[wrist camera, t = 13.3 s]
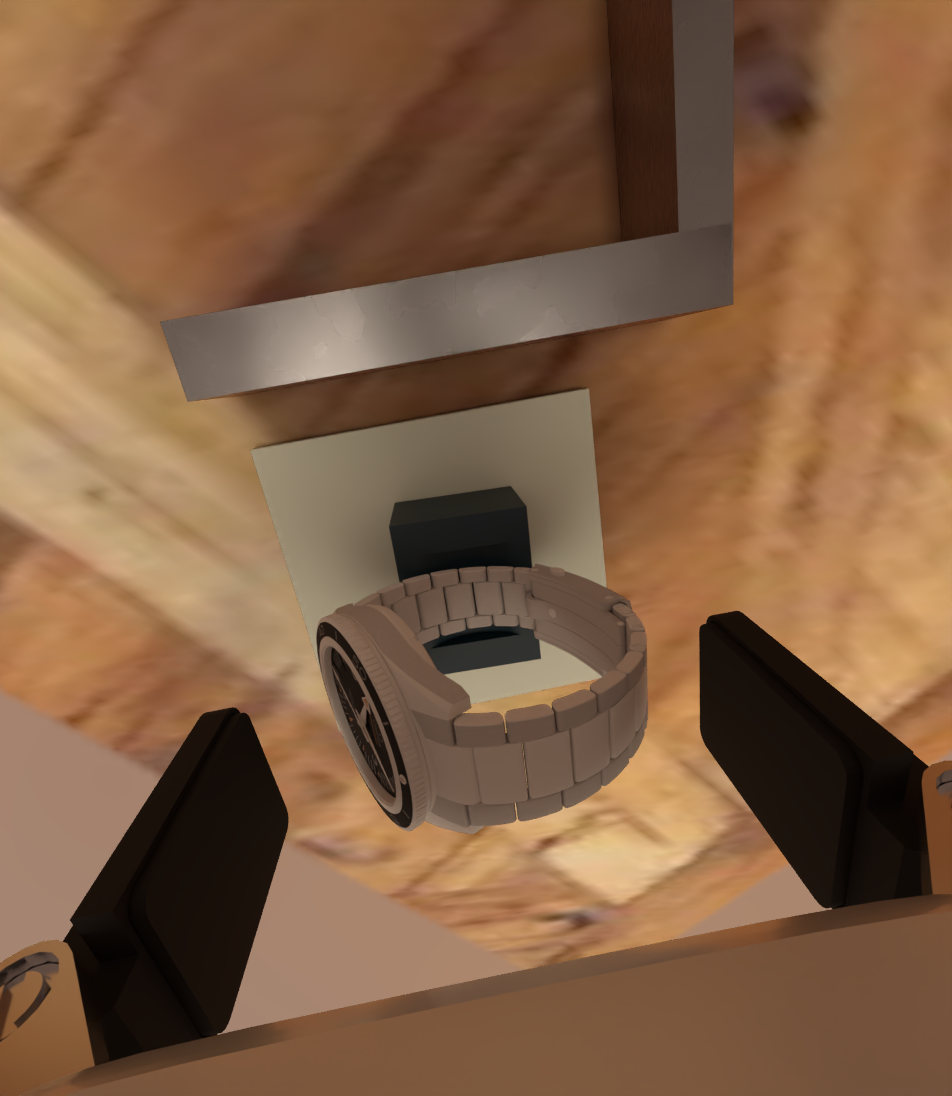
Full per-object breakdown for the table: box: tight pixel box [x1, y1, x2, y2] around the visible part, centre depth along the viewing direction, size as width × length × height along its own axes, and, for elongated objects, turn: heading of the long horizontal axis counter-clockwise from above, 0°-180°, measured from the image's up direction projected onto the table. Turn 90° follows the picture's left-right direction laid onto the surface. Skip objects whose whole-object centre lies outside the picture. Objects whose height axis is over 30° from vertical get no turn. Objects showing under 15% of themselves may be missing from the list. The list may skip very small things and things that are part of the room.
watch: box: [316, 486, 648, 834], centre depth 14 cm, size 6×8×11 cm
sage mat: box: [250, 388, 607, 731], centre depth 20 cm, size 12×12×1 cm
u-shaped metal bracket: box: [160, 0, 734, 402], centre depth 13 cm, size 14×15×4 cm
